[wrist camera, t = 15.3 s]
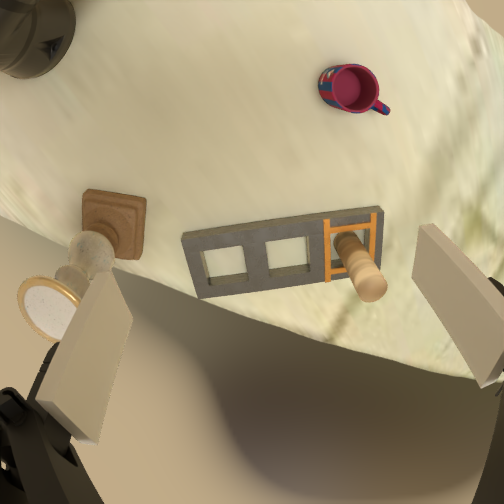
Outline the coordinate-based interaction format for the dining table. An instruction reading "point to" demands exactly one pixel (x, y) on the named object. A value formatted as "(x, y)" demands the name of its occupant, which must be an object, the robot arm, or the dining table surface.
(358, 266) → the peg
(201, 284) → the grey peg board
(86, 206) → the candle holder
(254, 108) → the dining table surface
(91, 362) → the robot arm
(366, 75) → the mug
